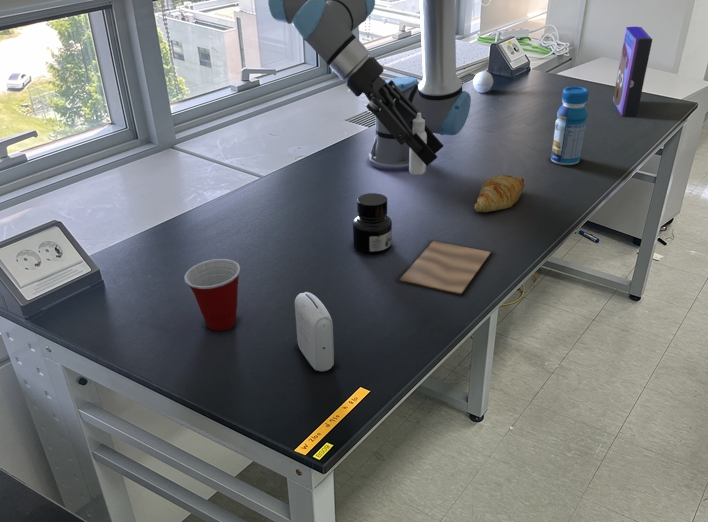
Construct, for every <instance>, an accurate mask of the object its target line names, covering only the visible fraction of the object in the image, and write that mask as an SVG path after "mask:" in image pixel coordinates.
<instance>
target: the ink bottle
mask: <svg viewBox="0 0 708 522" xmlns="http://www.w3.org/2000/svg"><path fill="white" fill-rule="evenodd" d="M356 208H357V209H356V210H357V216H356V217H355V218H354V219H353V222H352V234H353V235H352V237H353V239H352V241H353V249H354V250H355V251H356V252H358V253H360V254H362V255H368V256H377V255H382V254H384V253H387V252H388V251H389V250H391V248H392V244H393V243H392V242H393V221H392V219H391V218H390V217H389V216H388V197H387V196H386V195H384V194H381V193H378V192H377V193H376V192H375V193H373V192H369V193H364V194H361V195H359V196H358V197H357V201H356Z"/></svg>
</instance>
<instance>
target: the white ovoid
mask: <svg viewBox="0 0 708 522" xmlns="http://www.w3.org/2000/svg"><path fill="white" fill-rule="evenodd" d="M472 86H473V88H474V90H475V91H476V92H478V93H480V94H485V93H487V92H489V91H490V90H491V89H492V87H493V86H494V78H493V75H492V74H491V73H490V72H489V71H485V70H482V71H480V72H477V73H476V74H475V76H474V77H473V79H472Z"/></svg>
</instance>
